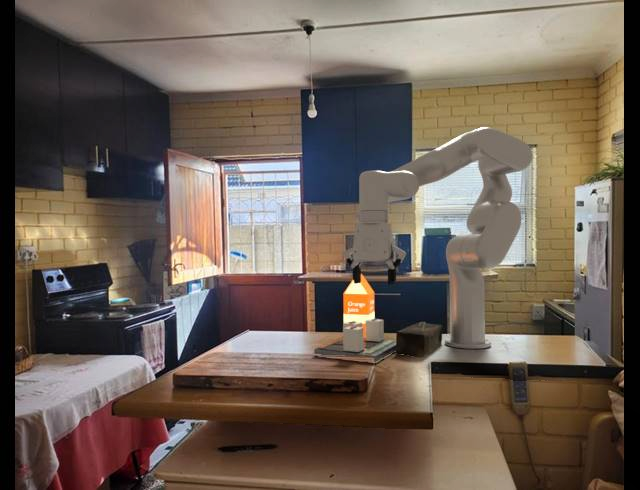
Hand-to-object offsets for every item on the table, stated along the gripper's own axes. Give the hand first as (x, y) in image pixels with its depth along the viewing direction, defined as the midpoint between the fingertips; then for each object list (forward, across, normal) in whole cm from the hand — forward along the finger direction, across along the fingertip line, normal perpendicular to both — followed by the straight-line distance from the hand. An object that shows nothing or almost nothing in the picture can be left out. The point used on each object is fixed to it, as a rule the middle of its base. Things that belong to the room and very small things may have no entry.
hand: (374, 283), depth 121 cm
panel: (+19, -4, 0) cm, 19 cm away
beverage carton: (+19, +9, +12) cm, 24 cm away
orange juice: (+19, -11, +15) cm, 26 cm away
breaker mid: (+16, -6, 0) cm, 17 cm away
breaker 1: (+16, -3, -7) cm, 18 cm away
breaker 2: (+16, -3, +7) cm, 18 cm away
